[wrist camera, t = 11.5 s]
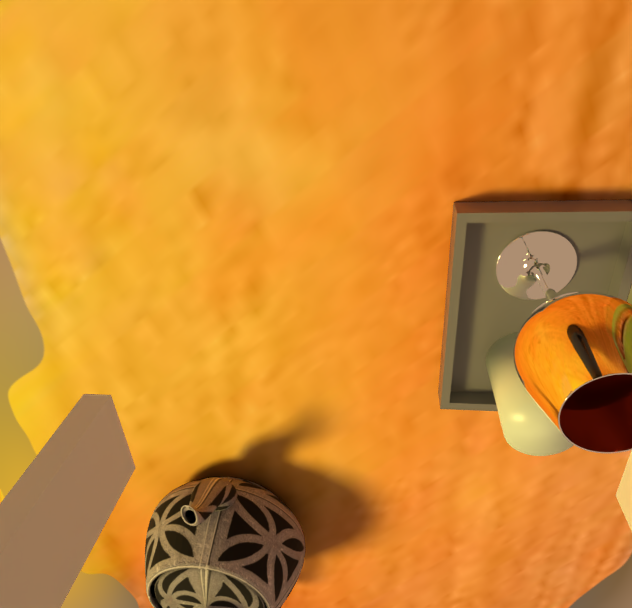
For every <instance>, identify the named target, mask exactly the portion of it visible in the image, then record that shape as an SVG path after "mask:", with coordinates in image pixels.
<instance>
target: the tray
mask: <svg viewBox="0 0 632 608" xmlns="http://www.w3.org/2000/svg"><path fill="white" fill-rule="evenodd" d="M540 230H544V231H551V232H555V233H558V234H560V235H562V236H564V237H565V238H566V239H567V240H569V241H570V243H571V244H572V245H573V247H574V249H575V251H576V255H577V267H576V270H575V273H574V275H573V277H572V279H571V280H570V281H569V283H568V284H567V285H566V286H565V287H564V288H563V289H561V290H560V291H559V292H557V295H558V296H560V295H563V294H567V293H572V292H582V291H590V292H600V293H605V294H609V295H612V296H615V297H618V298H620V299H622V300H624V301H626V302H627V298H628V295H629V291H630V288H631V285H632V200H569V201H496V202H454V205H453V217H452V229H451V242H450V254H449V266H448V279H447V291H446V303H445V316H444V328H443V340H442V353H441V365H440V377H439V390H438V393H439V402H440V409H456V410H481V411H498V409H497V406H496V402H495V398H494V394H493V390H492V386H491V382H490V378H489V374H488V370H487V366H486V355H487V353H488V351H489V349H490V347H491V346H492V345H493V344H494V343H495V342H496V341H497V340H499V339H500V338H502V337H504V336H506V335H509V334H513V333H518V331H519V329H520V327H521V325H522V324H523V322H524V321H525V319H526V318H527V317H528V316H529V315H530V314H531V313H532V312H533V311H534V310H535V309H536V308H537V307H539V306H540V305H541V304H543V303H545V302H546V301H548V300H547V298H543V299H537V300H524V299H519V298H516V297H514V296H512V295H510V294H508V293H507V292H506V291H505V290H504V289H503V288H502V287H501V286H500V284H499V282H498V280H497V277H496V263H497V259H498V257H499V255H500V253H501V251H502V250H503V249H504V247H505V246H506V245H507V244H508V243H509V242H511V241H512V240H513V239H515V238H516V237H518V236H520V235H522V234H525V233H528V232H532V231H540Z"/></svg>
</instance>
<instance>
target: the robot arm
mask: <svg viewBox="0 0 632 608" xmlns="http://www.w3.org/2000/svg"><path fill="white" fill-rule="evenodd" d="M134 469H135V465H134V462H133V459H132V456H131V453H130V450H129V447H128V444H127V441H126V438H125V435H124V432H123V429H122V426H121V423H120V420H119V418H118V415H117V412H116V409H115V406H114V403H113V400H112V397H111V395H96V394H84V395H83V396H82V397H81V399H80V400H79V401H78V403H77V404H76V405H75V406H74V408H73V409H72V410H71V412H70V413H69V414H68V416H67V417H66V418H65V420H64V421H63V422H62V424H61V425H60V426H59V427H58V429H57V430H56V431H55V433H54V434H53V435H52V437H51V438H50V439H49V441H48V442H47V443H46V445H45V446H44V447H43V448H42V450H41V451H40V452H39V454H38V455H37V456H36V458H35V459H34V460H33V462H32V463H31V464H30V465H29V467H28V468H27V469H26V471H25V472H24V473H23V475H22V476H21V477H20V479H19V480H18V481H17V483H16V484H15V485H14V486H13V488H12V489H11V490H10V492H9V493H8V495H7V496H6V497H5V498H4V500H3V501H2V502H1V504H0V608H61V606H62V604H63V602H64V600H65V598H66V596H67V595H68V593H69V591H70V589H71V587H72V585H73V583H74V581H75V580H76V578H77V576H78V574H79V572H80V570H81V568H82V567H83V565H84V563H85V561H86V559H87V557H88V555H89V554H90V552H91V550H92V548H93V546H94V544H95V542H96V540H97V539H98V537H99V535H100V533H101V531H102V529H103V527H104V525H105V524H106V522H107V520H108V518H109V516H110V514H111V512H112V511H113V509H114V507H115V505H116V503H117V501H118V499H119V497H120V496H121V494H122V492H123V490H124V488H125V486H126V484H127V483H128V481H129V479H130V477H131V475H132V473H133V471H134ZM616 497H617V500H618V502H619V504H620V506H621V508H622V511H623V513H624V515H625V517H626V520H627V522H628V524H629V526H630V528H631V531H632V451H631V454H630V456H629V459H628V462H627V465H626V468H625V470H624V473H623V476H622V479H621V482H620V485H619V487H618V490H617V493H616Z"/></svg>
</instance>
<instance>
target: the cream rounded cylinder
mask: <svg viewBox="0 0 632 608" xmlns="http://www.w3.org/2000/svg"><path fill="white" fill-rule="evenodd" d="M516 336H517V333H513V334H509V335H506V336H504V337H502V338H500V339H499V340H497V341H496V342H495V343H494V344H493V345H492V346H491V347H490V349H489V351H488V353H487V355H486V366H487V370H488V374H489V378H490V382H491V386H492V390H493V394H494V398H495V402H496V406H497V409H498V413H499V417H500V421H501V425H502V429H503V433H504V437H505V439H506V441H507V442H508V444H509V445H510V446H511V447H513V448H514V449H515V450H517V451H519V452H522V453H524V454H528V455H534V456H547V455H553V454H557V453H560V452H563V451H565V450H567V449H569V448H570V447H572V446H573V444H572V443H570V442H569V441H568V440H567V439H566V438H565V437H564V436H563V435H562V433H561V432H560V431H559V430H558V429H557V428H556V427H555V426H554V424H553V423H552V422H551V421H550V420H549V419H548V417H547V416H546V415H545V414H544V413H543V412H542V410H541V409H540V408H539V407H538V406H537V404H536V403H535V402H534V401H533V399H532V398H531V397H530V395H529V394H528V393H527V391H526V390H525V388H524V386H523V385H522V383H521V381H520V379H519V377H518V375H517V372H516V369H515V365H514V358H513V350H514V343H515V339H516Z"/></svg>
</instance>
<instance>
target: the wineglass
mask: <svg viewBox="0 0 632 608" xmlns="http://www.w3.org/2000/svg"><path fill="white" fill-rule="evenodd" d="M576 267H577V255H576V251H575V249H574V247H573V245H572V244H571V243H570V241H569V240H567V239H566V238H565V237H564V236H562V235H560V234H558V233H555V232H551V231H544V230H540V231H532V232H528V233H525V234H522V235H520V236H518V237H516V238H515V239H513V240H512V241H511V242H509V243H508V244H507V245H506V246H505V247H504V249H503V250H502V251H501V253H500V255H499V257H498V259H497V263H496V277H497V280H498V282H499V284H500V286H501V287H502V288H503V289H504V290H505V291H506V292H507V293H508V294H510V295H512V296H514V297H516V298H519V299H524V300H537V299H543V298H547V300H548V301H546V302H545V303H543V304H541V305H540V306H539V307H537V308H536V309H535V310H534V311H533V312H532V313H531V314H530V315H529V316H528V317H527V318H526V319H525V321H524V322H523V324H522V325H521V327H520V329H519V331H518V333H517V336H516V339H515V343H514V350H513V358H514V365H515V369H516V372H517V375H518V377H519V379H520V381H521V383H522V385H523V386H524V388H525V390H526V391H527V393H528V394H529V395H530V397H531V398H532V399H533V401H534V402H535V403H536V404H537V406H538V407H539V408H540V409H541V410H542V412H543V413H544V414H545V415H546V416H547V417H548V419H549V420H550V421H551V422H552V423H553V424H554V426H555V427H556V428H557V429H558V430H559V431H560V432H561V433H562V435H563V436H564V437H565V438H566V439H567V440H568V441H569V442H570V443H572V444H573V445H575V446H577V447H579V448H581V449H584V450H587V451H591V452H596V453H619V452H624V451H629V450H632V305H631V304H629V303H628V302H626V301H624V300H622V299H620V298H618V297H615V296H612V295H609V294H605V293H600V292H590V291H582V292H572V293H567V294H563V295H560V296H558V295H557V292H559V291H560V290H561V289H563V288H564V287H565V286H566V285H567V284H568V283H569V281H570V280H571V279H572V277H573V275H574V273H575V270H576Z"/></svg>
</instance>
